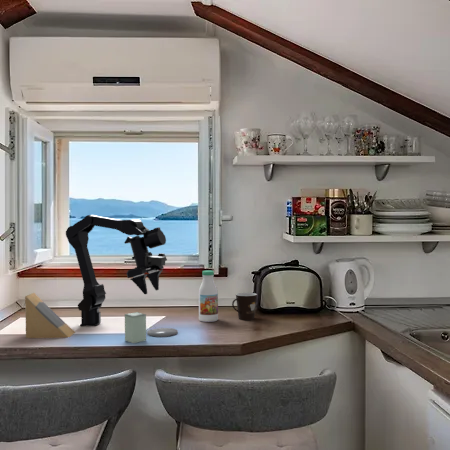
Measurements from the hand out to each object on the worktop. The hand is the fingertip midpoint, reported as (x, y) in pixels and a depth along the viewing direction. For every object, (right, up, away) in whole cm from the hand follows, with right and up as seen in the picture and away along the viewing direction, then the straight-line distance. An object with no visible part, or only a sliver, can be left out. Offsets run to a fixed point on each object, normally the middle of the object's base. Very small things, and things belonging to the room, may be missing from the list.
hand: (151, 292), depth 189 cm
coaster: (+5, -14, -6) cm, 16 cm away
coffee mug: (+35, -13, +17) cm, 41 cm away
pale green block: (-3, -14, -16) cm, 22 cm away
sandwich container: (-35, -15, -7) cm, 39 cm away
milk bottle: (+21, -14, +15) cm, 29 cm away
